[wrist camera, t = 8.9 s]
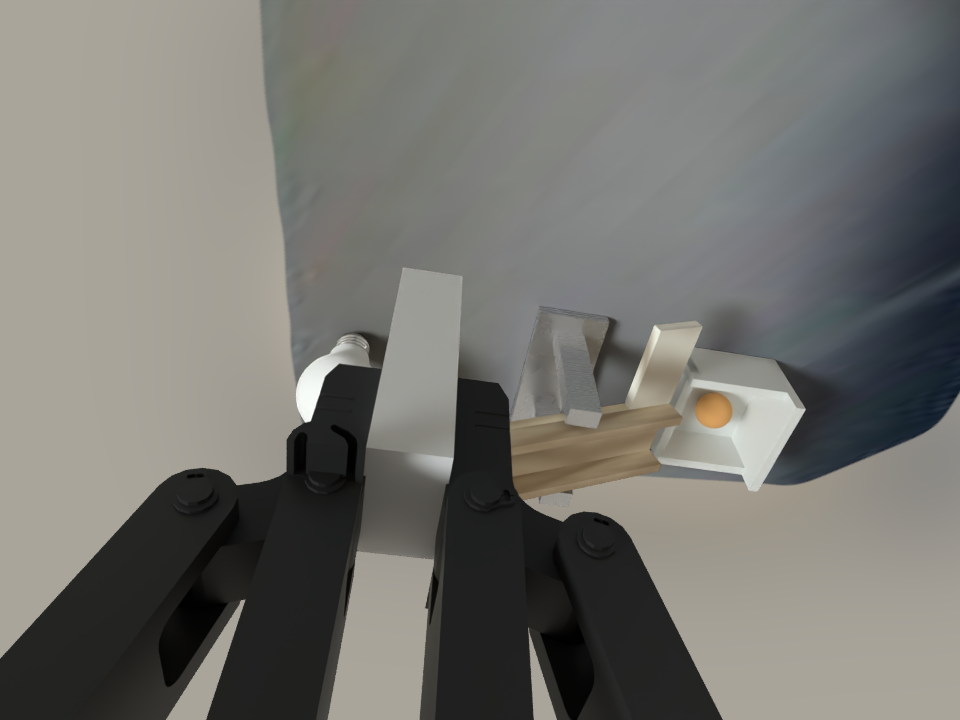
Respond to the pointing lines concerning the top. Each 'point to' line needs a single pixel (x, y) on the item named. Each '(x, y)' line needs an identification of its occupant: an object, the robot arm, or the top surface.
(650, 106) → the top surface
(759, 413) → the tray
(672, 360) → the lever
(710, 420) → the ball
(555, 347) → the stand
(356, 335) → the light bulb
